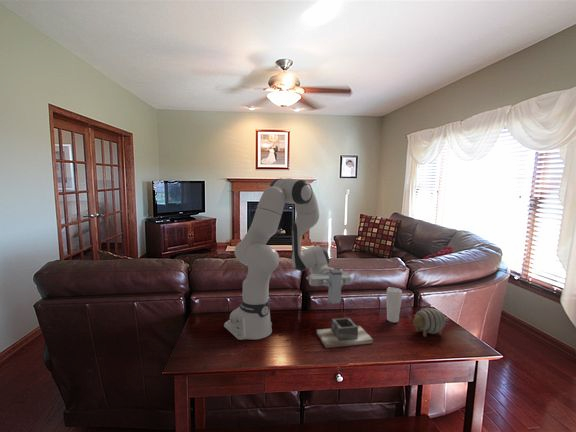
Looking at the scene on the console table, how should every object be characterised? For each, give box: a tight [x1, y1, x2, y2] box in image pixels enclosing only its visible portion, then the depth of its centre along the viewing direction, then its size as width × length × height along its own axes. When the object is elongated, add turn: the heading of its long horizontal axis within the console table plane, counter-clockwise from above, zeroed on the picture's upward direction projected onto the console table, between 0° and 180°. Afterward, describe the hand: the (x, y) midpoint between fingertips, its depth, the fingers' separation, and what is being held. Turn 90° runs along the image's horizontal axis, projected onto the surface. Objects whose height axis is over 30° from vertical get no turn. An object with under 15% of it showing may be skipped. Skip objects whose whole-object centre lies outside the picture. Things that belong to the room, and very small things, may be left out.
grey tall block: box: [327, 268, 342, 304], centre depth 132 cm, size 5×4×14 cm
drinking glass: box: [385, 287, 403, 323], centre depth 138 cm, size 7×7×15 cm
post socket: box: [316, 317, 374, 349], centre depth 122 cm, size 12×20×6 cm, turn 102°
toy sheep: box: [412, 307, 450, 338], centre depth 127 cm, size 11×17×11 cm, turn 107°
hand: (335, 285), depth 131 cm, fingers closed on grey tall block, 4 cm apart
